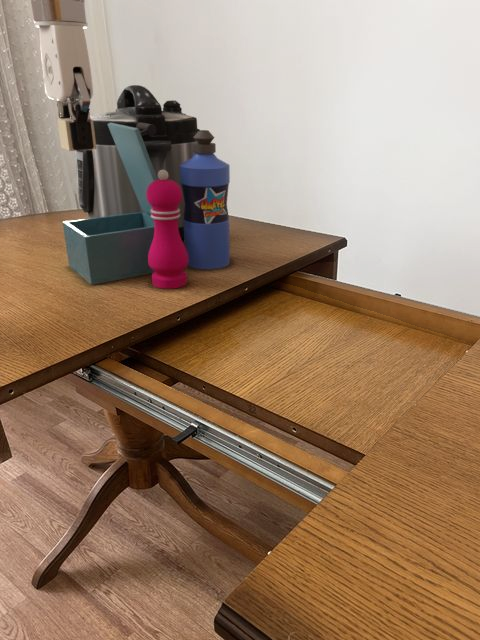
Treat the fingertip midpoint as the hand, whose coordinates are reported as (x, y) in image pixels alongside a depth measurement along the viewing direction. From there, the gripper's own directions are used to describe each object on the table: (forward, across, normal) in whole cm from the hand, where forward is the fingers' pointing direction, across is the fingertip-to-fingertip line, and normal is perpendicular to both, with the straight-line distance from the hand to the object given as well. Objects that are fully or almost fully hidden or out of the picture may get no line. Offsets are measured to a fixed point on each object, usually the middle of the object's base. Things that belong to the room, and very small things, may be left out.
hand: (78, 146), depth 88 cm
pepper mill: (+24, +7, +11) cm, 27 cm away
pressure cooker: (+24, -28, +22) cm, 43 cm away
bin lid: (+6, -6, +12) cm, 15 cm away
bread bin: (+24, -6, +7) cm, 25 cm away
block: (0, 0, 0) cm, 0 cm away
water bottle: (+24, 0, +23) cm, 33 cm away
